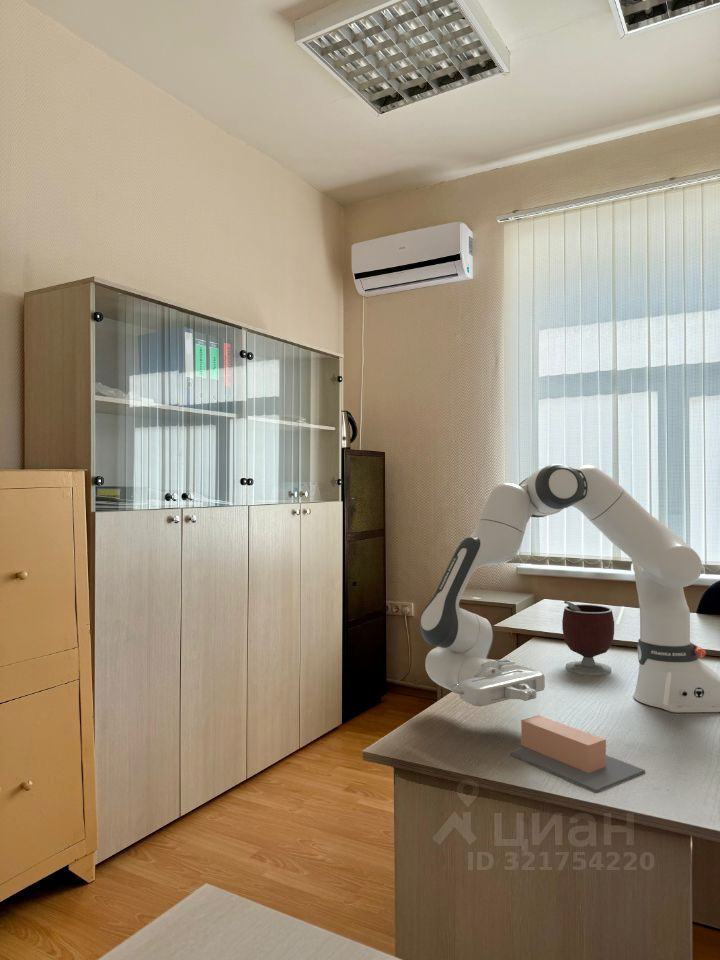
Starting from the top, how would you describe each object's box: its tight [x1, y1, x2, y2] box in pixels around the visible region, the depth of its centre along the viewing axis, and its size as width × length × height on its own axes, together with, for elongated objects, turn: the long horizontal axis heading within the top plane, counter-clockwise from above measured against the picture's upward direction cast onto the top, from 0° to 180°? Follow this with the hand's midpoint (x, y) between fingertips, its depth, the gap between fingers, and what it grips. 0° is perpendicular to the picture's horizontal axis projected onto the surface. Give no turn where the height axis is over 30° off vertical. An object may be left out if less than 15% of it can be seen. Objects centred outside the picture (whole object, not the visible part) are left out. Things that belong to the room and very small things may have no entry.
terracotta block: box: [520, 714, 607, 773], centre depth 132 cm, size 5×5×16 cm
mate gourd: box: [561, 600, 615, 676], centre depth 194 cm, size 16×14×20 cm
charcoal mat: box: [508, 746, 646, 793], centre depth 130 cm, size 20×14×1 cm
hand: (531, 695), depth 139 cm, fingers closed
